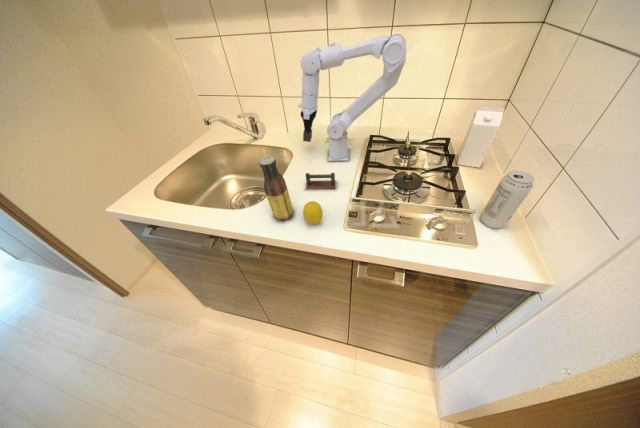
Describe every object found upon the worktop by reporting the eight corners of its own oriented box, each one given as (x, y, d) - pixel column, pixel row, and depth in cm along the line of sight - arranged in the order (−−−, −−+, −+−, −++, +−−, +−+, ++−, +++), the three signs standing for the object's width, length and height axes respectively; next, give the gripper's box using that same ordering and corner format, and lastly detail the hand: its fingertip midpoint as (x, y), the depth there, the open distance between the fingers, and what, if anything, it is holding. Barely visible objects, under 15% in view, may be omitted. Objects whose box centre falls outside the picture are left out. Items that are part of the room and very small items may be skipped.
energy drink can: (507, 231, 59) (542, 185, 49) (481, 228, 61) (509, 182, 50) (501, 215, 63) (531, 170, 53) (477, 213, 65) (502, 168, 54)
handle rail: (307, 182, 82) (306, 170, 78) (335, 182, 81) (335, 170, 77) (306, 189, 79) (304, 177, 76) (335, 189, 78) (334, 177, 74)
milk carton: (458, 155, 87) (478, 102, 74) (479, 158, 84) (504, 104, 71) (457, 164, 83) (478, 110, 69) (479, 168, 80) (506, 113, 67)
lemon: (321, 230, 65) (319, 210, 59) (302, 228, 66) (299, 208, 60) (325, 217, 68) (323, 196, 63) (307, 215, 70) (304, 195, 64)
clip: (304, 136, 93) (305, 121, 88) (311, 137, 93) (312, 122, 88) (303, 141, 90) (303, 125, 86) (310, 142, 90) (311, 126, 86)
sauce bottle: (285, 205, 74) (271, 149, 60) (297, 214, 70) (286, 157, 56) (269, 216, 71) (250, 160, 57) (281, 226, 67) (264, 168, 53)
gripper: (301, 84, 84) (300, 120, 94) (295, 98, 74) (294, 137, 84) (320, 87, 84) (317, 122, 94) (316, 101, 74) (313, 140, 84)
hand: (307, 129), depth 89 cm, fingers closed on clip
